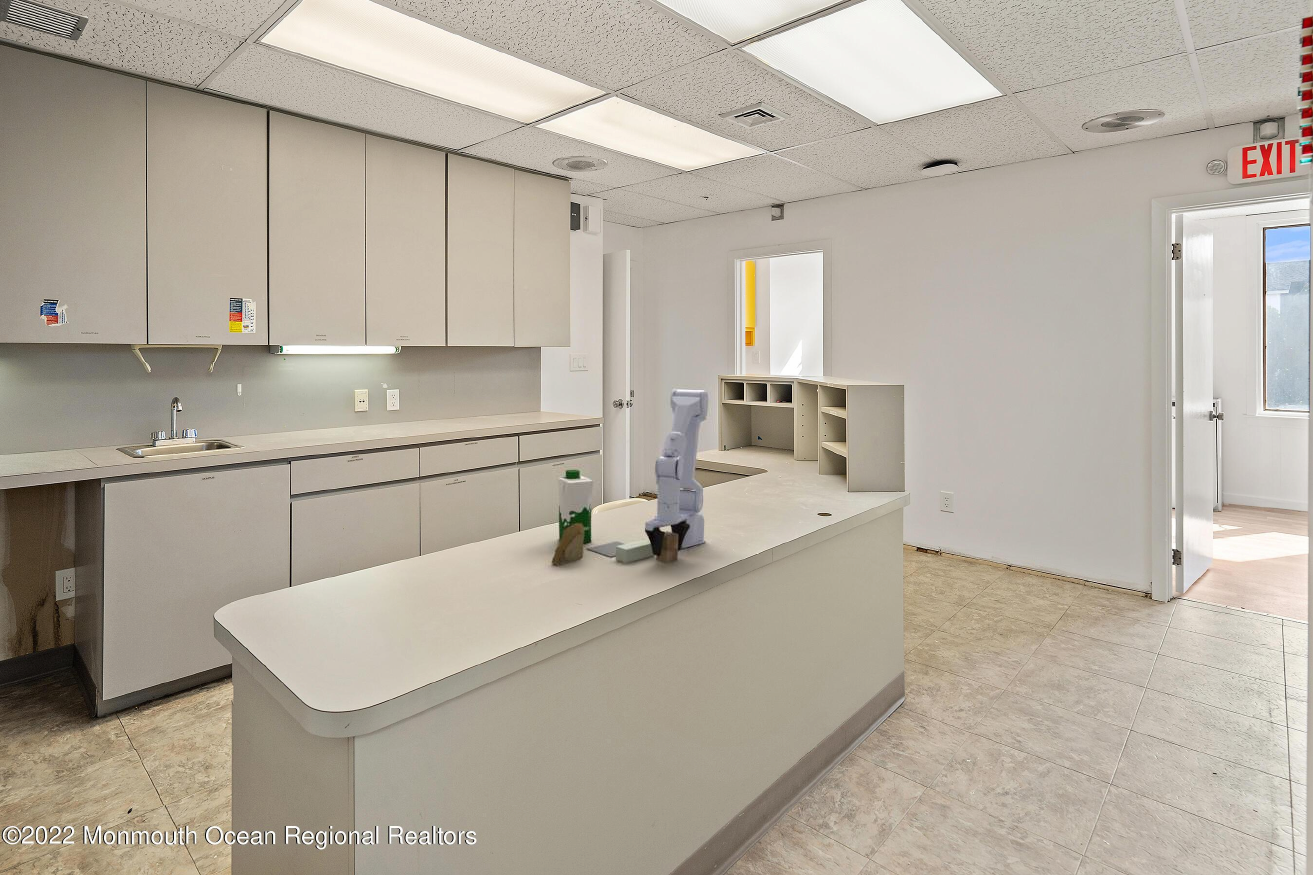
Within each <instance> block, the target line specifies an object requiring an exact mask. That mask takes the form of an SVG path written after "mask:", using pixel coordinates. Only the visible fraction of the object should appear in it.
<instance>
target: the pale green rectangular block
mask: <svg viewBox="0 0 1313 875" xmlns="http://www.w3.org/2000/svg"><path fill="white" fill-rule="evenodd" d="M652 556H654V555H653V551H652V547H651V543H650V540H646V539H640V540H636V541H632V542H628V543H624V545H619V546H616V556H615V560H616V561H620V562H622V563H626V564H627V563H631V562H635V561H639V560H641V559H646V558H649V557H652Z"/></svg>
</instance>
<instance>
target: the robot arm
mask: <svg viewBox="0 0 1313 875" xmlns="http://www.w3.org/2000/svg"><path fill="white" fill-rule="evenodd" d="M670 408H671V409H672V413H673V415H674V416H673V422H672V426H671V427H672V429H671V432H670V433H668V434H667V435H666V437H665V441H664V444H663V447H662V451H661V455H660V457H657V458H656V460H655V466H654V475H655V484H656V485H657V498H656V500H657V501H656V502H657V503H656V505H657V508H656V516H654V517H655V518H653V519H651V520H649V521H645V523H644V524H645V528H644V532H645V534H646V536H647V537H648V541H650V543H651V547H652V551H653V556H655V557H656V556H660V555H661V549H662V541H663V537H664V534H665V532H666V531H663V530H661V528H665V527H669V526H670V528H671V529H670V530H671V531H670V532H672V533H676V534H678V552H680V551H681V549H685V548H689V547H692V546H696V545H700V544H704V543H707V540H706V539H705V537H704V536H705V517H704V515H703V514H702V512H701V511H702V510H703V506H704V505H703V504H704V489H703V488H704V487H703V486H702V484H701V483H699V481H697V480H696V479H695V476H696V465H697V455H698V454H697V453H698V444H699V443H698V441H699V431H700V426H701V422H704V421H706V420H707V416H708V409H709V394H708V392H707V390H706V389H702V390H701V389H698V390H697V389H681V388H680V389H678V388H674V389H673V390H672V391H671V394H670Z"/></svg>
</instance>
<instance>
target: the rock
mask: <svg viewBox="0 0 1313 875" xmlns="http://www.w3.org/2000/svg"><path fill="white" fill-rule="evenodd" d="M583 540H584V526H583V524H582V523H579V524H578V523H576V524H573V525H571V526H570V527H568V528H567V529H565V530H564V531H563V536H562V538H561V540H560V541H559V543H558V545H557V547H556V549H555V551H554V555H553V557H552V559H551V562H550V563H551V564H554V565H556V566H560V565H564V564H568V563H569V561H570V562H573V560H574V561H576V560H578V559H581V558H583V557H584V543H583Z"/></svg>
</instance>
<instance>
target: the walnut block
mask: <svg viewBox="0 0 1313 875" xmlns="http://www.w3.org/2000/svg"><path fill="white" fill-rule="evenodd" d="M664 532H665V534H664V537H663V541H662V549H661V555H660V556H655V560H656V561H659V562H662V563H665V564H669V563H673V562H675V561H678V556H679V555H678V552H679V551H678V534H676V533H672V532H671V531H664Z"/></svg>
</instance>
